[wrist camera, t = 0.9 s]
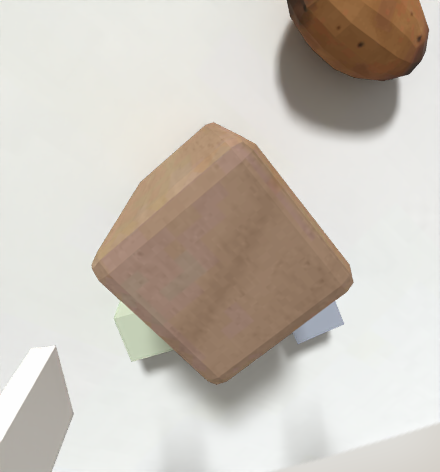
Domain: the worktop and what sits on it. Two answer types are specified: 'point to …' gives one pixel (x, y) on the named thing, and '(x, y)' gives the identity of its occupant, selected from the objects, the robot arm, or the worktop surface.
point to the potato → (364, 35)
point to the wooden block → (220, 255)
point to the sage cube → (138, 335)
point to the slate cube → (319, 324)
